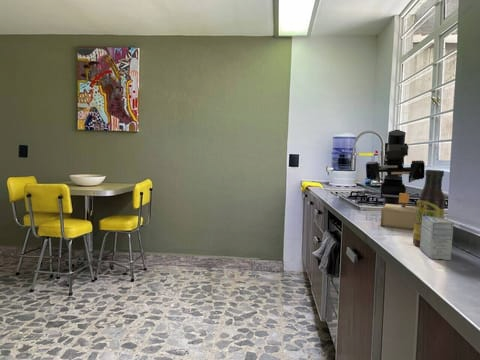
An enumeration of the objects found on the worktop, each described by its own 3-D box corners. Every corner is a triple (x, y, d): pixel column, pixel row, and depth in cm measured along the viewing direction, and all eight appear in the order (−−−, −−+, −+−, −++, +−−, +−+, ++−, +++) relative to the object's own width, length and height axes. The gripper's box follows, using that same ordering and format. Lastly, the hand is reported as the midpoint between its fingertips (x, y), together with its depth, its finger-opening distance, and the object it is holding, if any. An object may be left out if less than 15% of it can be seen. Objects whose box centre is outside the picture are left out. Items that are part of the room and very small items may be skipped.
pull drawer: (385, 205, 126) (386, 191, 125) (422, 208, 120) (423, 194, 120) (383, 207, 119) (385, 193, 119) (422, 211, 114) (423, 196, 114)
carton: (384, 218, 126) (385, 203, 126) (421, 223, 121) (422, 207, 120) (380, 226, 113) (381, 209, 113) (421, 231, 108) (423, 213, 107)
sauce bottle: (407, 243, 91) (413, 168, 90) (423, 242, 94) (429, 169, 92) (429, 250, 85) (436, 170, 84) (446, 248, 88) (453, 170, 86)
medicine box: (451, 261, 77) (454, 223, 77) (429, 259, 78) (432, 221, 78) (438, 251, 85) (441, 216, 84) (418, 249, 86) (421, 215, 85)
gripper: (367, 142, 128) (363, 159, 116) (423, 139, 120) (426, 158, 108) (368, 169, 133) (364, 188, 121) (423, 168, 125) (425, 189, 113)
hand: (393, 181), depth 115 cm, fingers open, 9 cm apart
